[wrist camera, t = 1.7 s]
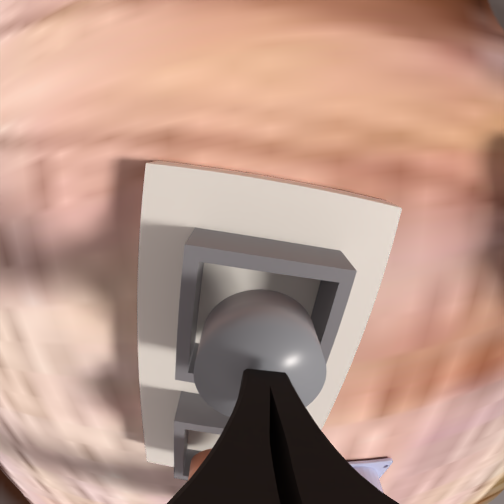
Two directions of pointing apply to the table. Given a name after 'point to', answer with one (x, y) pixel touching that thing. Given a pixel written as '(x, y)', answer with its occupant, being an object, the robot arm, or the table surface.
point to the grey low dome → (257, 347)
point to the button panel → (245, 282)
